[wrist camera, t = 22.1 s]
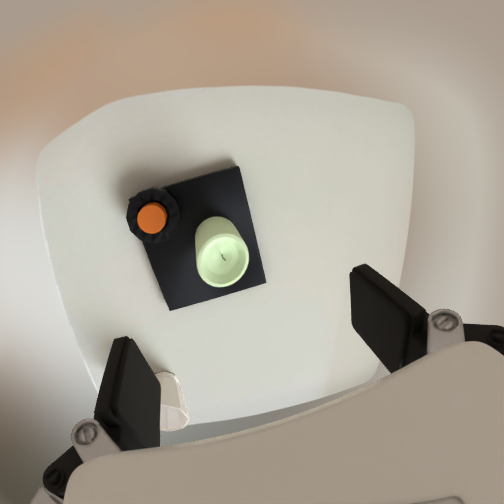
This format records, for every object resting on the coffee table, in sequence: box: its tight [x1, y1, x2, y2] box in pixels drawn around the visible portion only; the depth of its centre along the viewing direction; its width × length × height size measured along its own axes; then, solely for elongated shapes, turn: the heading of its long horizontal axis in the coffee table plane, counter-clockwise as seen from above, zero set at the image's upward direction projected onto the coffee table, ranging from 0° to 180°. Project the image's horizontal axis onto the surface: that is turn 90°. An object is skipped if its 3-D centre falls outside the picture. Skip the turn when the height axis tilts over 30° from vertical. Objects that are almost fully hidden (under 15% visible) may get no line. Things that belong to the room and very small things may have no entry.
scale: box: [126, 166, 266, 311], centre depth 32 cm, size 15×14×3 cm
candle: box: [195, 217, 249, 287], centre depth 29 cm, size 5×5×8 cm
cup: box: [155, 371, 190, 431], centre depth 36 cm, size 7×10×8 cm
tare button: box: [137, 202, 167, 234], centre depth 28 cm, size 3×3×2 cm
